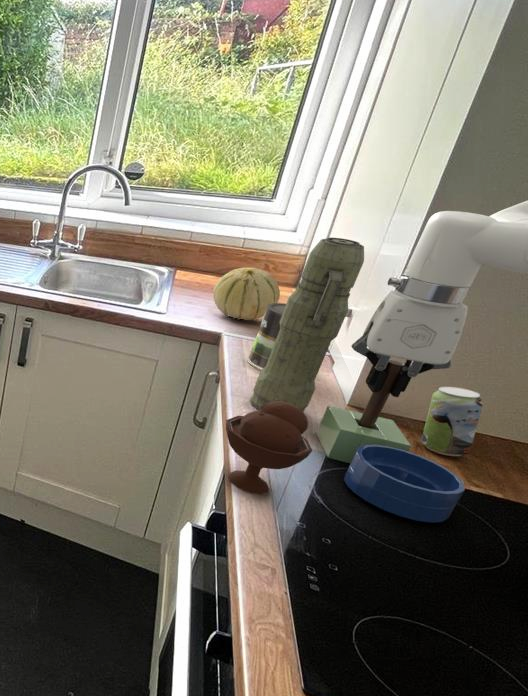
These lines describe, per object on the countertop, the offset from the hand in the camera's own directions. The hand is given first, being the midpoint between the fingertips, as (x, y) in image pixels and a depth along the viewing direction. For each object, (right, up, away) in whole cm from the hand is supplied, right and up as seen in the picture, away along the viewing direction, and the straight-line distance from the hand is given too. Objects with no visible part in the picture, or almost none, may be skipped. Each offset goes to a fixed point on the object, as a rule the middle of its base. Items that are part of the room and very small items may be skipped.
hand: (382, 390), depth 99 cm
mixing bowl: (-5, -16, -7) cm, 18 cm away
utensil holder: (0, -12, +5) cm, 13 cm away
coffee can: (+11, +1, +36) cm, 38 cm away
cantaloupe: (+23, +12, +65) cm, 70 cm away
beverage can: (+17, -12, +7) cm, 22 cm away
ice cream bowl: (-26, -15, -4) cm, 30 cm away
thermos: (-3, -6, +19) cm, 20 cm away
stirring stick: (0, -10, +4) cm, 11 cm away
